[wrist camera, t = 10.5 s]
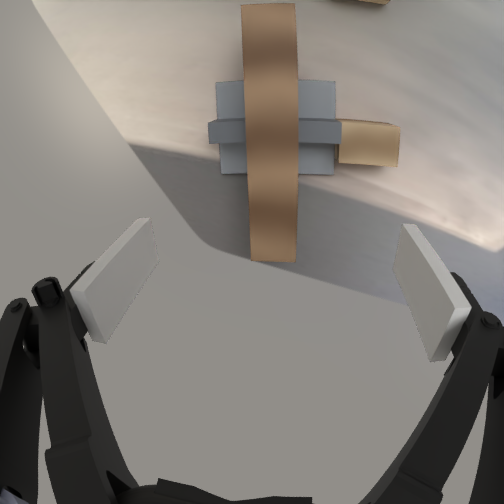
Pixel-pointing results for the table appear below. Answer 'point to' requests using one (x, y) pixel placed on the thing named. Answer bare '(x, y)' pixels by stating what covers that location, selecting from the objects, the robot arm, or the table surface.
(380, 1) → the block
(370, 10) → the table surface
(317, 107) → the fulcrum
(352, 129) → the block
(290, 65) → the walnut bar
